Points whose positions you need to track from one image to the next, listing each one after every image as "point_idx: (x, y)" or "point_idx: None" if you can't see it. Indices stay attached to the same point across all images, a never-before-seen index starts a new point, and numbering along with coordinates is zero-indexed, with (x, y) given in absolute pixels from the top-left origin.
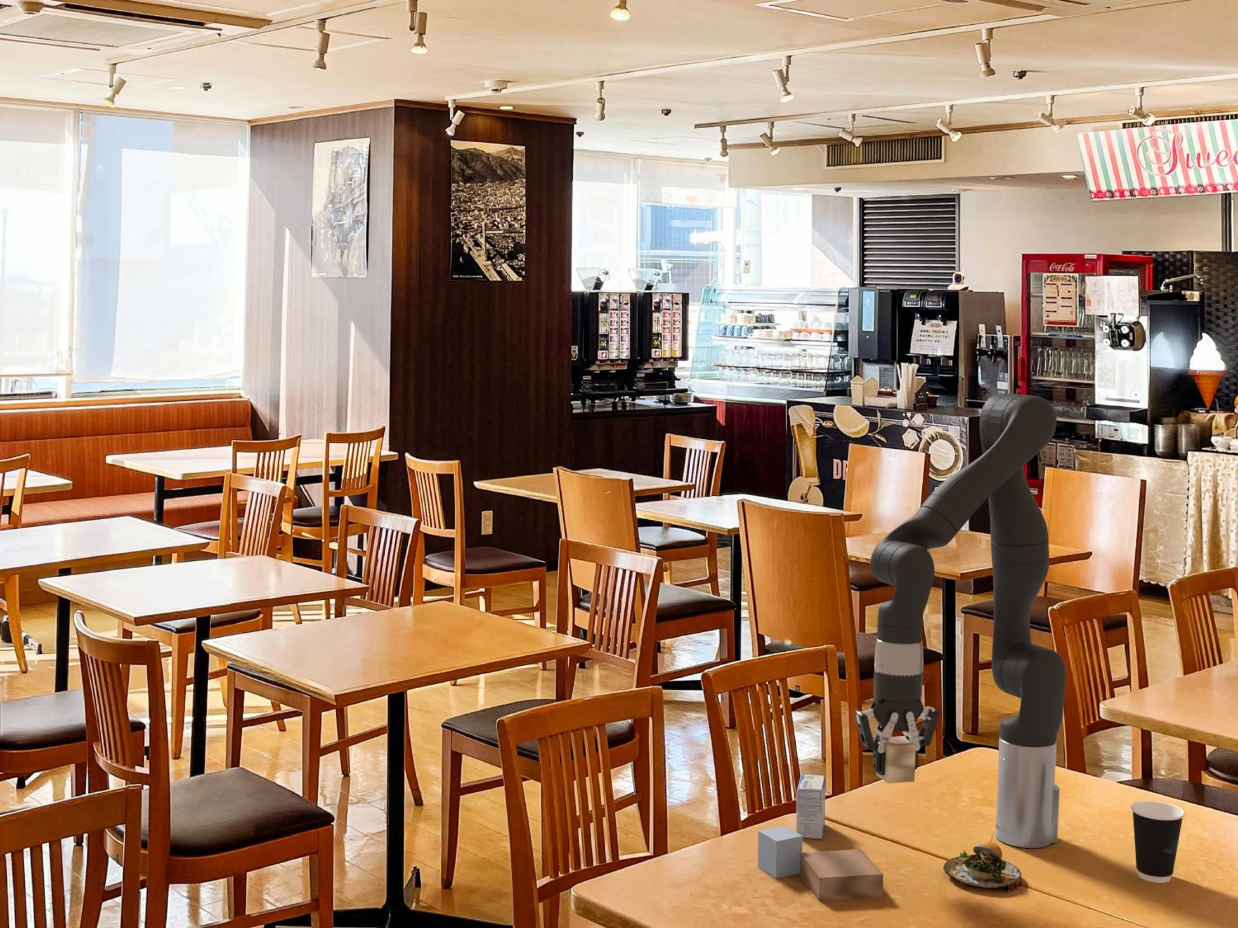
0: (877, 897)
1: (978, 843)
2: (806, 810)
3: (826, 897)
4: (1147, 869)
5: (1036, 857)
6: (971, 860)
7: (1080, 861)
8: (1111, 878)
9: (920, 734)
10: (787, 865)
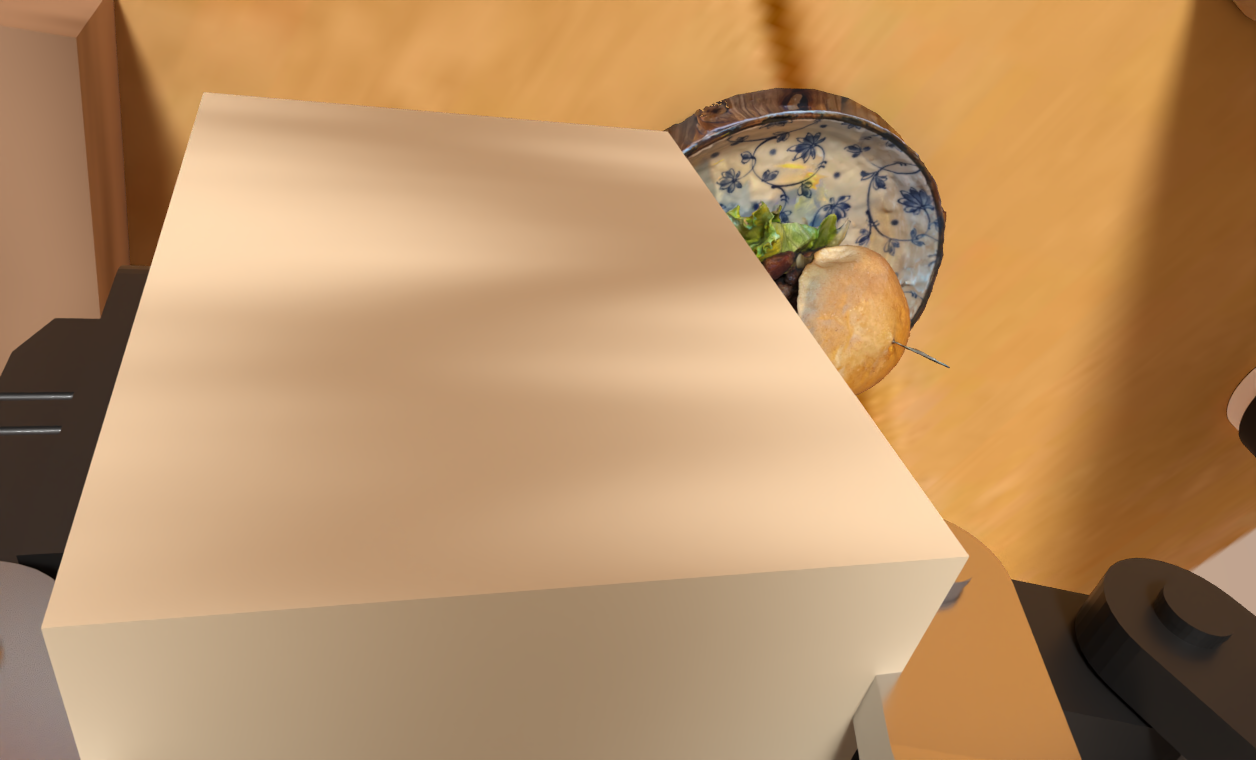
0: None
1: (822, 336)
2: None
3: None
4: (1252, 441)
5: (1159, 122)
6: None
7: (1245, 215)
8: (1162, 373)
9: (1199, 748)
10: None
